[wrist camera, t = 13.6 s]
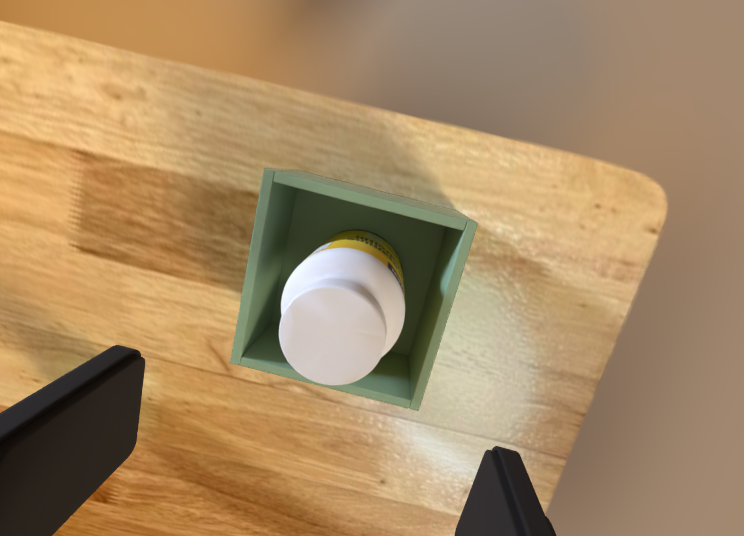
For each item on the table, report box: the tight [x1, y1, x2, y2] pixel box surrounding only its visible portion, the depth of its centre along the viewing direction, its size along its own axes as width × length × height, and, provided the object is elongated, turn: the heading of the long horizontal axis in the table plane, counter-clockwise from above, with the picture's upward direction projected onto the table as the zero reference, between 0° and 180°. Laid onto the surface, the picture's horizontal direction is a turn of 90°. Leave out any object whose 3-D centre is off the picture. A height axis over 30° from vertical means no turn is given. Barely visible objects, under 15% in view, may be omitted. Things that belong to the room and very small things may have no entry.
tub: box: [230, 168, 478, 411], centre depth 25 cm, size 12×12×6 cm
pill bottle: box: [279, 229, 405, 385], centre depth 22 cm, size 6×6×12 cm
